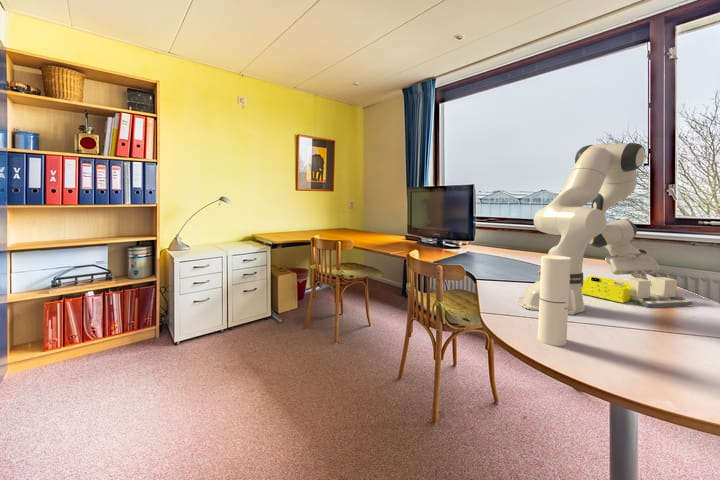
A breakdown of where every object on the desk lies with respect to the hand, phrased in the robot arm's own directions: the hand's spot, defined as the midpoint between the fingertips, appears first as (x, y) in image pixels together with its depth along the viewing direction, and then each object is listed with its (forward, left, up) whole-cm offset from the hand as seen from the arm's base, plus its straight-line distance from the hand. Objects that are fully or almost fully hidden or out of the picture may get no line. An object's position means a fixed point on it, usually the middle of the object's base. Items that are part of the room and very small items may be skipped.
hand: (644, 281), depth 130 cm
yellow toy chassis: (-18, -9, -6) cm, 21 cm away
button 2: (+3, -8, -4) cm, 9 cm away
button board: (-2, -11, -6) cm, 12 cm away
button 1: (-8, -11, -4) cm, 14 cm away
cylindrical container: (-51, -60, -6) cm, 79 cm away
